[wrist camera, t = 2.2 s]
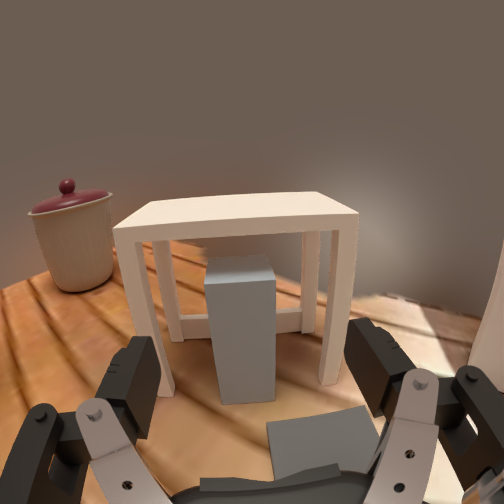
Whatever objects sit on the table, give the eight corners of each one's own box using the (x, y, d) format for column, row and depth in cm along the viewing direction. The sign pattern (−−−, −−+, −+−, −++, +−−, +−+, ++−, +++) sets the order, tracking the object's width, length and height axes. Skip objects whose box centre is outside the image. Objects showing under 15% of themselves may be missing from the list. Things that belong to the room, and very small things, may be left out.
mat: (396, 485, 13) (400, 482, 13) (280, 515, 13) (280, 513, 12) (362, 410, 22) (364, 405, 21) (266, 427, 21) (266, 422, 21)
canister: (45, 279, 51) (26, 188, 44) (112, 258, 63) (99, 171, 55) (50, 312, 39) (20, 190, 31) (137, 282, 50) (120, 168, 43)
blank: (274, 400, 24) (275, 279, 20) (222, 404, 24) (203, 284, 19) (268, 367, 29) (266, 254, 24) (222, 370, 29) (208, 258, 24)
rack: (336, 383, 26) (359, 213, 20) (158, 396, 25) (112, 228, 19) (311, 325, 36) (316, 191, 30) (173, 334, 35) (150, 201, 29)
